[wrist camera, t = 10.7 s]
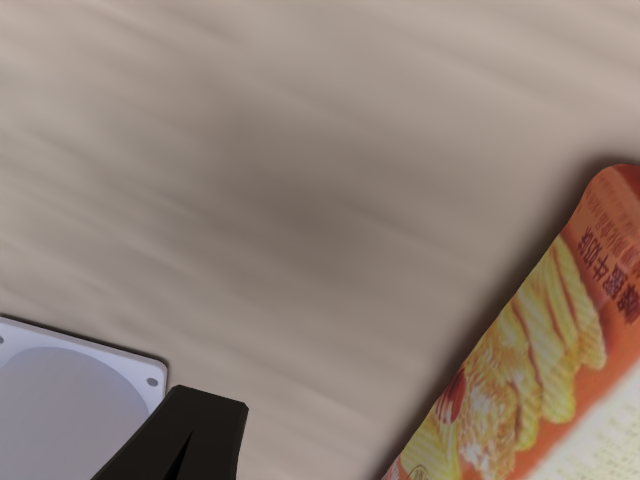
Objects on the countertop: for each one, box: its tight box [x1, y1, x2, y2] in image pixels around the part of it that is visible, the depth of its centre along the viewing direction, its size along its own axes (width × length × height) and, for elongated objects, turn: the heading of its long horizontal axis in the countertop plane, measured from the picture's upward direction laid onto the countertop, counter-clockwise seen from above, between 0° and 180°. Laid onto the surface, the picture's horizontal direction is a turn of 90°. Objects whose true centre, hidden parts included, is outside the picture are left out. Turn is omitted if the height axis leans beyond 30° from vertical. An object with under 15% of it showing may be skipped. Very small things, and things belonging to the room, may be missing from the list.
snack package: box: [381, 164, 640, 480], centre depth 20 cm, size 23×7×7 cm, turn 160°
